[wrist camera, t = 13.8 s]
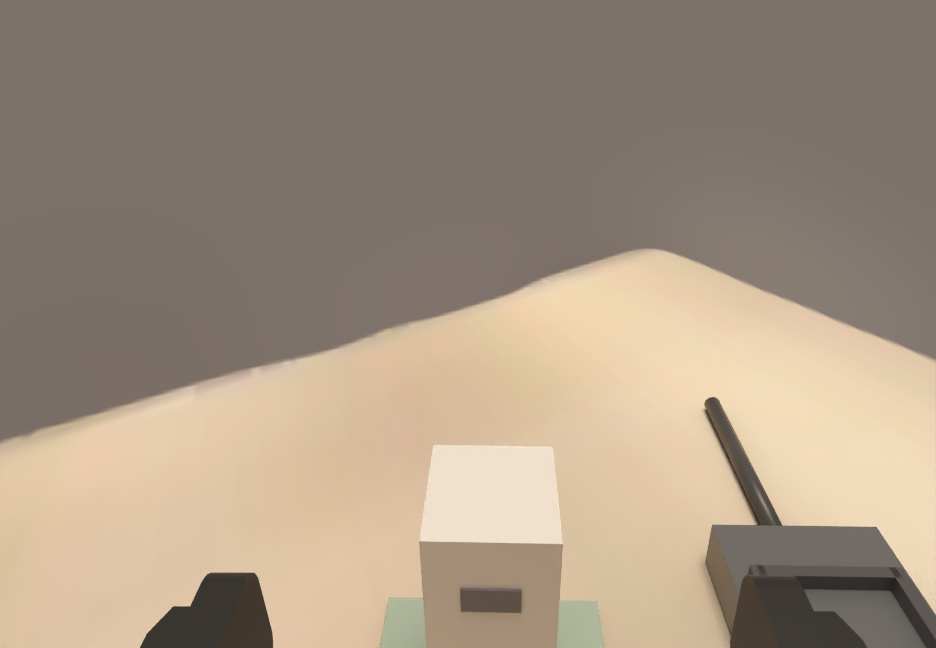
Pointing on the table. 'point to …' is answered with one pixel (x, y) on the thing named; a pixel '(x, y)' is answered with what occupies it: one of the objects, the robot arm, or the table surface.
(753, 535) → the strip
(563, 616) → the mat
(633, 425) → the table surface
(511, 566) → the charger
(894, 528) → the table surface
